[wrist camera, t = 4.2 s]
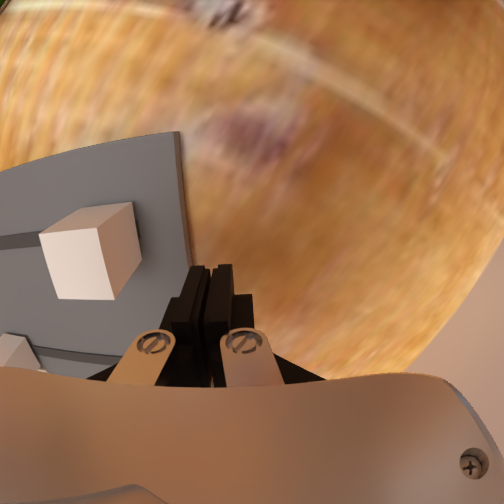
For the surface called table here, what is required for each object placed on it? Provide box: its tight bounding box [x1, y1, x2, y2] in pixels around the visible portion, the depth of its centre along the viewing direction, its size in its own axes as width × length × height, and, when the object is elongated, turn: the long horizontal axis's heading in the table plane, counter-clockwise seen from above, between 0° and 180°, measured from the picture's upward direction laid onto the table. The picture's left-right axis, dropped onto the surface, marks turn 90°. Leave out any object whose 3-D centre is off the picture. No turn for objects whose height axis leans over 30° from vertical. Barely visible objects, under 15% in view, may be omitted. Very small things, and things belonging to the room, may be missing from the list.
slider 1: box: [0, 333, 40, 371], centre depth 20 cm, size 4×4×5 cm
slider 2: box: [39, 202, 142, 300], centre depth 16 cm, size 4×4×5 cm
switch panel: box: [0, 132, 214, 388], centre depth 21 cm, size 26×24×2 cm
